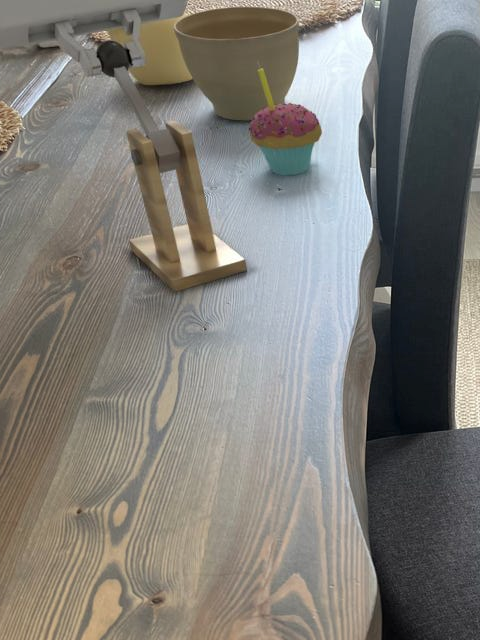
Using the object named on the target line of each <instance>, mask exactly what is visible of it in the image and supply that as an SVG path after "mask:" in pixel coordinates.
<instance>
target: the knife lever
mask: <svg viewBox="0 0 480 640" xmlns="http://www.w3.org/2000/svg"><path fill="white" fill-rule="evenodd" d="M95 51H96V53H97V58H99V60H100V62H101V65H102V70H101V72H102V73H103V74H104V75H106V76H107V77H109V78H113V79H115V80H116V83H117V84H118V85H119V88H120V90H121V91H122V93H123V95H124V97H125V98H126V100H127V102H128V104H129V105H130V107H131V110H132V112H133V113H134V115H135V117H136V118H137V120H138V122H139V124H140V126H141V127H142V129H143V131H144V134H145V137H147V138H148V139H149V140H151V141H152V143H153V147H154V151H155V156H156V160H157V164H158V168H159V172H160V174H163V173H167V172H172V171H176V169H179V168H180V150H179V149H178V147H177V145H176V143H175V141H174V139H173V138H172V136H171V134H170V132H169V130H168V129H167V128H166V127H165V128H161V129H159V127H158V125H157V123H156V121H155V119H154V117H153V115H152V114H151V112H150V109H149V108H148V106H147V105H146V102H145V101H144V99H143V97H142V95H141V94H140V92H139V90H138V88H137V87H136V85H135V83H134V81H133V79H132V76H131V75H130V73H129V70H128V69H129V66H130V58H129V55H128V52H127V51H126V49H125V48H124V47H123V46H122V45H121V44H120V43H118V42H116V41H112V40H111V39H110V40H104V41H102V42H100V44H99V45H98V46H97V47H96V49H95Z"/></svg>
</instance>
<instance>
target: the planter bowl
mask: <svg viewBox="0 0 480 640" xmlns="http://www.w3.org/2000/svg"><path fill="white" fill-rule="evenodd" d="M299 22H300V21H299V18H298V16H297V15H296V14H295V13H292V12H290V11H287V10H285V9H281V8H274V7H266V6H264V7H263V6H229V7H219V8H212V9H206V10H202V11H196V12H193V13H191V14H188V16H185V17H183V18H181V19H180V20H178V21H177V22H176V23H175V24H174V31H175V34H176V37H177V39H178V41H179V45H180V49H181V53H182V56H183V59H184V62H185V64H186V66H187V69H188V71H189V73H190V74H191V76H192V78H193V79H192V80H193V81H194V83H195V84H196V86H197V88H198V89H199V91H201V92H200V93H202V94H203V95H204V97H205V98H206V99H207V100H208V101H209V102H210V103H211V104H212V107H213V110H214V112H215V114H216V115H217V116H218V117H220V118H223V119H226V120H233V121H246V122H247V121H248V122H251V121H252V120H253V118H254V117H255V116H254V115H256V114H257V113H258V112H259V111H261V110H262V109H265V108H266V107H269V106H268V102H267V99H266V96H265V92H264V89H263V86H262V83H261V79H260V76H259V73H258V70H259V68H258V65H257V63H256V62H258V63H259V66H260V68H261V69H263V70H264V73H265V76H266V80H267V83H268V86H269V90H270V93H271V96H272V100H273V103H274V104H276V105H278V104H286V102H285V101H286V97H287V95H288V93H289V92H290V89H291V87H292V85H293V81H294V80H295V76H296V73H297V68H298V63H299V56H300V40H299V29H300V23H299Z"/></svg>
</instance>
